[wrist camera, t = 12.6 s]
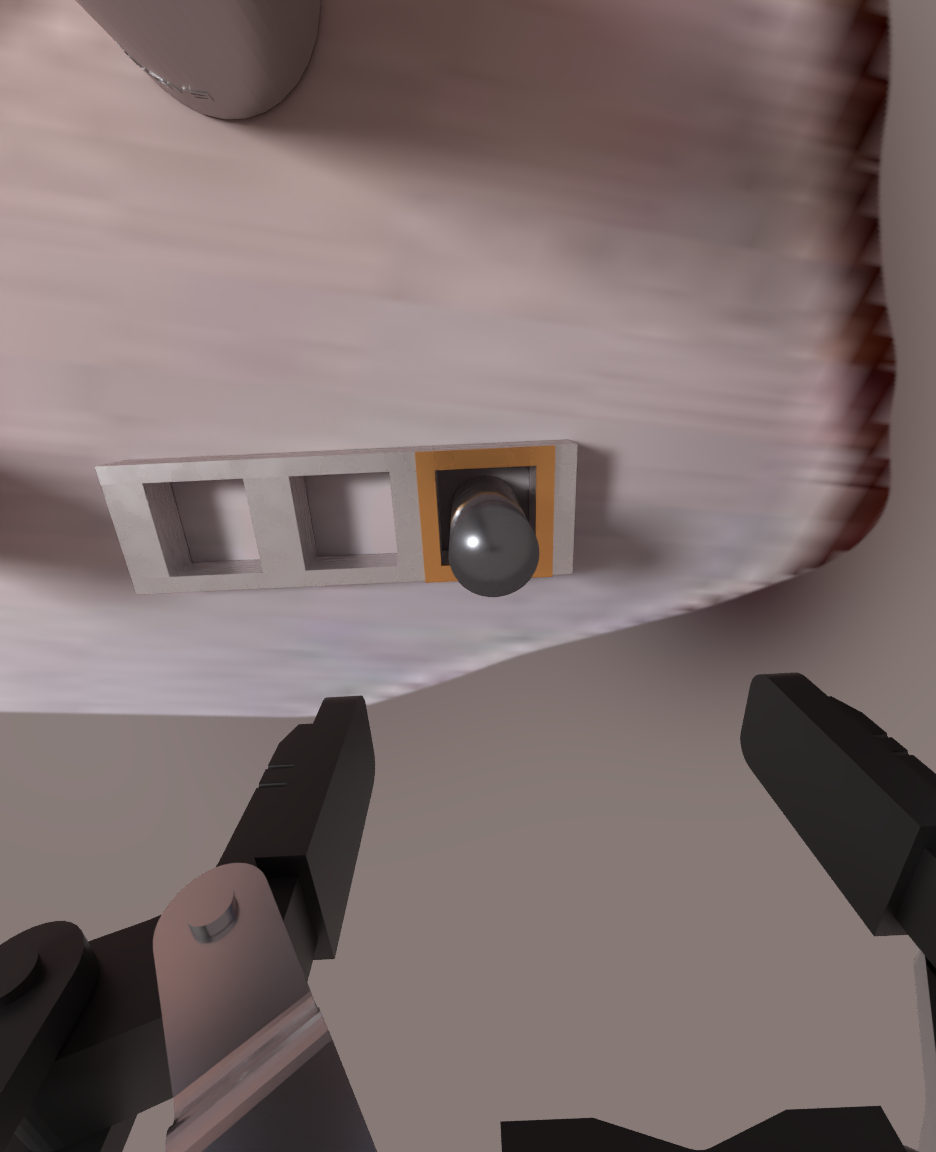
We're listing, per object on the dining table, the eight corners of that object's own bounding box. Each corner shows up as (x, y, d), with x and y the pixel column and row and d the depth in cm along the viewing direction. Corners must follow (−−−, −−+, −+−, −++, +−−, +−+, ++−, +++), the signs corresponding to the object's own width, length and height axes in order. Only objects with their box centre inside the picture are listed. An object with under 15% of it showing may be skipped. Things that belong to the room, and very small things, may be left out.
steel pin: (471, 463, 28) (476, 494, 20) (528, 495, 29) (556, 537, 21) (440, 521, 29) (432, 572, 21) (496, 549, 30) (510, 611, 22)
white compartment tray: (161, 578, 31) (133, 596, 28) (125, 460, 28) (90, 467, 25) (563, 560, 30) (573, 575, 28) (567, 439, 28) (578, 444, 25)
